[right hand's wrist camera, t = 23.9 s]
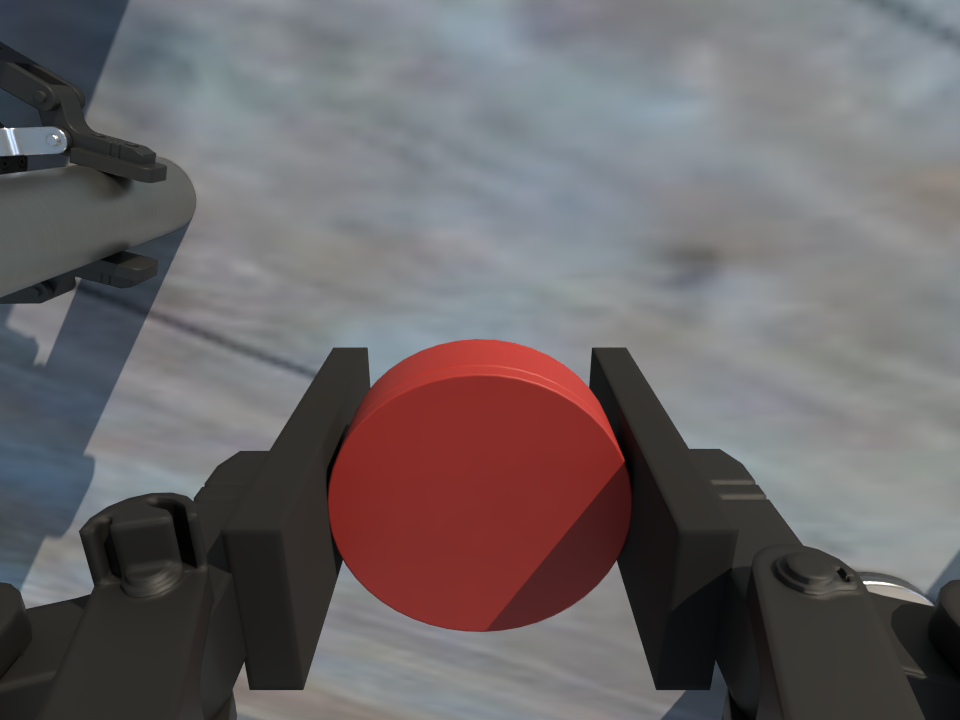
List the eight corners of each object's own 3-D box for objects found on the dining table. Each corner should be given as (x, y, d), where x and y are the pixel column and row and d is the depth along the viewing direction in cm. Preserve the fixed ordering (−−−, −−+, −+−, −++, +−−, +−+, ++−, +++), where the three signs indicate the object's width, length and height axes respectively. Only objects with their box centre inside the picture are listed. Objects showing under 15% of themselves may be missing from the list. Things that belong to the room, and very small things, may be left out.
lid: (579, 303, 11) (595, 335, 9) (637, 537, 12) (659, 596, 11) (304, 381, 11) (277, 422, 10) (397, 595, 13) (386, 658, 11)
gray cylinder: (163, 141, 37) (-124, 165, 19) (211, 208, 38) (-15, 288, 21) (105, 180, 37) (-221, 238, 20) (154, 245, 39) (-110, 351, 21)
